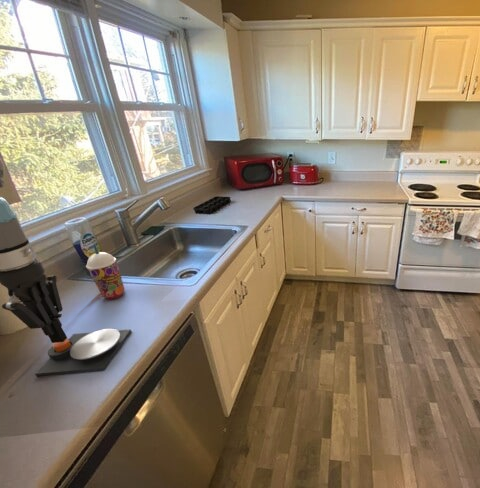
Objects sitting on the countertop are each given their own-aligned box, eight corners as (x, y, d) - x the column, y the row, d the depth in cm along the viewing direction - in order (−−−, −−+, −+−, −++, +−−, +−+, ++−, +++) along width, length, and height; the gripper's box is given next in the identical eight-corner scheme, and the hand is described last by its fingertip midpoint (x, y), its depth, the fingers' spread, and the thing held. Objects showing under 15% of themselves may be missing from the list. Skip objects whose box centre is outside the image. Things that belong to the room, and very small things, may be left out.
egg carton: (192, 214, 180) (190, 209, 178) (208, 201, 207) (207, 196, 205) (219, 214, 180) (218, 208, 178) (232, 200, 207) (231, 195, 205)
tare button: (52, 352, 74) (49, 347, 74) (61, 343, 77) (58, 339, 77) (65, 351, 75) (62, 346, 74) (73, 342, 78) (71, 337, 77)
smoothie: (115, 303, 98) (94, 252, 89) (94, 301, 99) (71, 250, 90) (133, 289, 105) (115, 241, 96) (114, 287, 106) (94, 240, 98)
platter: (59, 361, 71) (59, 360, 71) (87, 331, 81) (87, 330, 81) (105, 357, 72) (105, 356, 72) (127, 328, 82) (127, 326, 82)
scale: (34, 377, 71) (28, 369, 69) (73, 337, 83) (68, 329, 82) (104, 370, 72) (100, 362, 71) (131, 332, 85) (128, 324, 83)
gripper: (8, 278, 59) (56, 358, 69) (54, 250, 71) (90, 322, 81) (-31, 280, 58) (23, 361, 69) (22, 252, 70) (62, 324, 80)
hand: (59, 340), depth 75 cm, fingers closed
